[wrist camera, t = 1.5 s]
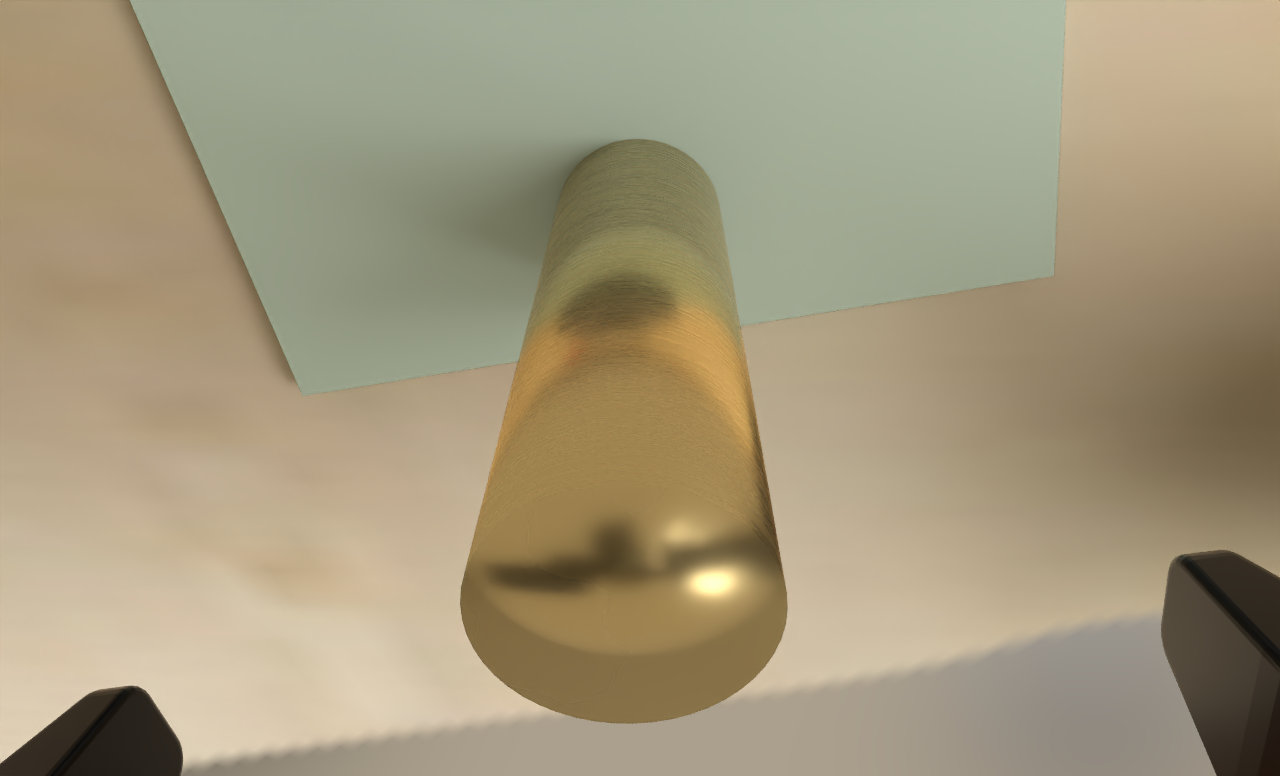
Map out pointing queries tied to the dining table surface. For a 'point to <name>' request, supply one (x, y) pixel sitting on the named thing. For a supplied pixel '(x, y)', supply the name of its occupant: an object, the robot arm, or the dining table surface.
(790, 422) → the dining table surface
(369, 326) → the mat
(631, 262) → the pin
